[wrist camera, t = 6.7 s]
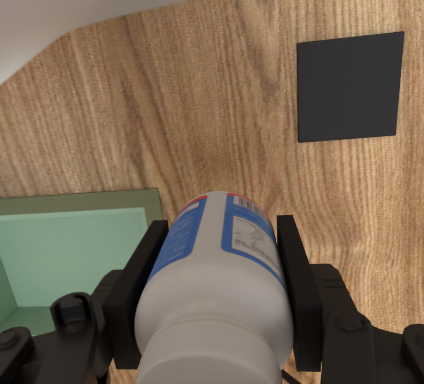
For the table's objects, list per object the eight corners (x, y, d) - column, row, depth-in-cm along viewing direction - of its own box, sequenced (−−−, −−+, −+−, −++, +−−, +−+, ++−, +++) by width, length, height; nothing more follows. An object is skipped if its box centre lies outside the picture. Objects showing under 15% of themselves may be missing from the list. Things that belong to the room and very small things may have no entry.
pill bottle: (181, 281, 19) (121, 482, 10) (164, 193, 17) (71, 335, 8) (278, 276, 18) (315, 486, 9) (272, 183, 16) (308, 326, 7)
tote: (-20, 199, 38) (-62, 219, 33) (158, 188, 36) (144, 207, 31) (17, 308, 43) (-13, 340, 38) (176, 304, 41) (166, 337, 35)
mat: (297, 43, 30) (297, 42, 29) (401, 32, 29) (404, 31, 28) (298, 141, 33) (299, 142, 32) (393, 134, 32) (395, 135, 31)
